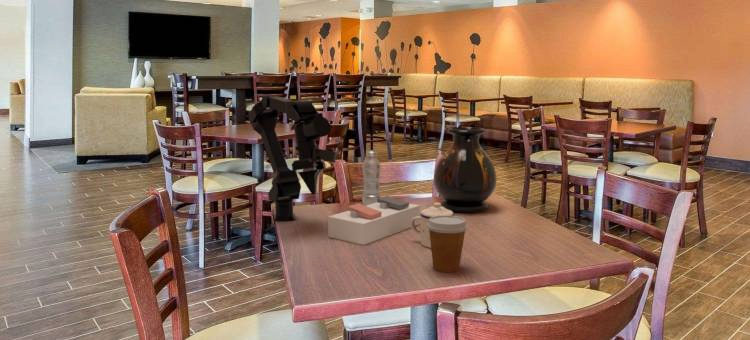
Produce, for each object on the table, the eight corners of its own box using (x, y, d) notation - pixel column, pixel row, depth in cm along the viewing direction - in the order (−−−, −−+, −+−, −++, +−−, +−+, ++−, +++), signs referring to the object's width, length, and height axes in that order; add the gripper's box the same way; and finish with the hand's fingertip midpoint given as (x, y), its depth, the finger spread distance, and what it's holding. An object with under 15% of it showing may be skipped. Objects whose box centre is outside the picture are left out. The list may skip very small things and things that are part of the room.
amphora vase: (501, 215, 188) (504, 131, 184) (436, 215, 189) (437, 131, 184) (489, 201, 209) (492, 125, 205) (430, 201, 210) (432, 125, 205)
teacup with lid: (457, 242, 159) (458, 201, 157) (447, 251, 151) (448, 208, 149) (416, 236, 164) (417, 197, 162) (405, 245, 156) (405, 203, 154)
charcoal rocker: (376, 202, 175) (377, 198, 174) (386, 199, 178) (387, 195, 178) (399, 209, 170) (399, 205, 169) (408, 206, 174) (409, 202, 173)
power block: (328, 236, 163) (328, 211, 162) (386, 217, 185) (386, 194, 184) (363, 245, 156) (363, 218, 154) (419, 224, 177) (419, 200, 176)
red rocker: (347, 210, 164) (348, 206, 163) (358, 207, 167) (358, 203, 167) (370, 219, 159) (371, 215, 158) (381, 216, 163) (381, 212, 162)
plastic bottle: (379, 209, 196) (379, 152, 193) (360, 208, 197) (360, 151, 194) (382, 205, 202) (383, 150, 199) (364, 204, 204) (364, 149, 200)
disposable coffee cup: (423, 261, 142) (424, 215, 140) (460, 261, 143) (462, 214, 141) (430, 275, 132) (431, 225, 130) (470, 274, 133) (471, 224, 131)
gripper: (326, 135, 159) (334, 190, 158) (337, 140, 177) (345, 189, 177) (287, 141, 160) (296, 196, 159) (303, 146, 178) (310, 195, 178)
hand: (313, 194), depth 168 cm, fingers closed
